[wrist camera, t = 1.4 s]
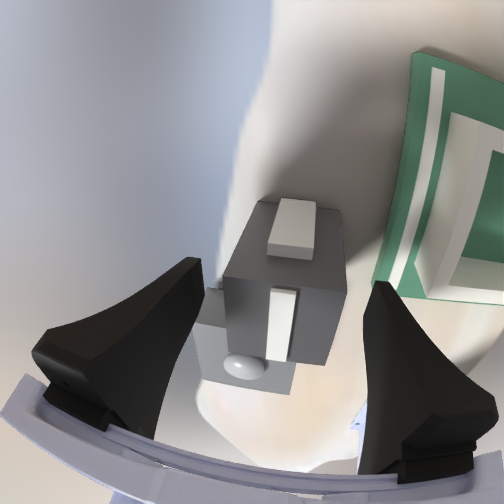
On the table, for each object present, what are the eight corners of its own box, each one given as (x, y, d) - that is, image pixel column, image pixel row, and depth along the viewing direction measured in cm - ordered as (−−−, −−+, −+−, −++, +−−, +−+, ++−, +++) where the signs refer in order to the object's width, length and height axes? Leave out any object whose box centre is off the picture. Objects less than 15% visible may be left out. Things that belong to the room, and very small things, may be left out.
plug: (327, 276, 16) (324, 369, 11) (256, 267, 17) (226, 355, 12) (341, 200, 14) (350, 284, 9) (257, 191, 14) (219, 267, 9)
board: (511, 296, 14) (531, 335, 11) (371, 282, 16) (378, 329, 13) (569, 124, 7) (608, 144, 4) (411, 53, 9) (443, 47, 6)
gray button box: (294, 360, 21) (288, 400, 18) (214, 347, 22) (201, 383, 19) (309, 275, 16) (305, 319, 13) (204, 261, 17) (182, 300, 14)
